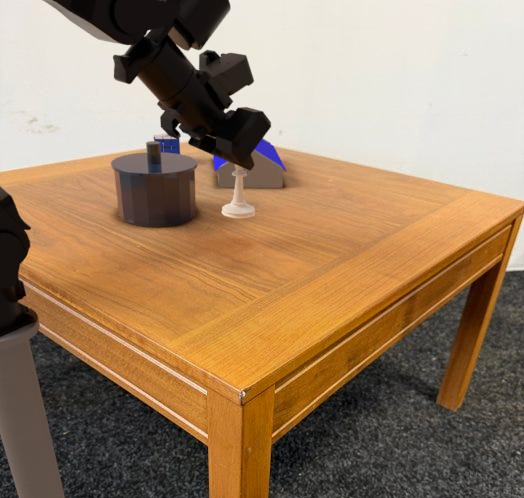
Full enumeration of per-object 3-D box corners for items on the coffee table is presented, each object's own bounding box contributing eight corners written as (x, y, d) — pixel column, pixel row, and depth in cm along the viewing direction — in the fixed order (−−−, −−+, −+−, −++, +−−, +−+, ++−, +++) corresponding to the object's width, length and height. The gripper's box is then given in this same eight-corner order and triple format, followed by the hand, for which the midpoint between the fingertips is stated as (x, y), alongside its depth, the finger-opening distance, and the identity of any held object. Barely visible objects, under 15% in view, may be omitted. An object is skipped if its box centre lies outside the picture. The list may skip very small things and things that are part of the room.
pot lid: (154, 186, 80) (152, 157, 78) (93, 169, 87) (89, 142, 85) (214, 168, 90) (214, 142, 88) (155, 154, 96) (153, 130, 94)
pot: (157, 233, 85) (154, 181, 81) (103, 214, 91) (97, 165, 87) (211, 213, 94) (210, 165, 89) (158, 197, 100) (155, 152, 95)
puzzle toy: (180, 159, 124) (179, 132, 121) (181, 164, 120) (180, 137, 117) (155, 159, 123) (153, 132, 120) (155, 165, 119) (153, 137, 116)
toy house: (212, 159, 125) (211, 125, 121) (273, 160, 126) (274, 126, 122) (215, 187, 106) (214, 148, 102) (286, 187, 108) (288, 148, 104)
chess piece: (256, 209, 82) (259, 138, 76) (253, 219, 78) (256, 146, 72) (224, 206, 82) (224, 136, 77) (219, 217, 78) (219, 143, 73)
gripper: (261, 32, 59) (326, 132, 71) (176, 23, 72) (243, 109, 83) (200, 115, 59) (275, 201, 71) (125, 91, 72) (199, 168, 83)
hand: (247, 165), depth 77 cm, fingers closed on chess piece
